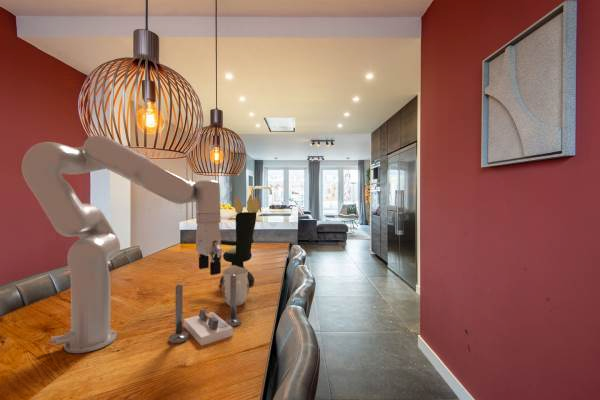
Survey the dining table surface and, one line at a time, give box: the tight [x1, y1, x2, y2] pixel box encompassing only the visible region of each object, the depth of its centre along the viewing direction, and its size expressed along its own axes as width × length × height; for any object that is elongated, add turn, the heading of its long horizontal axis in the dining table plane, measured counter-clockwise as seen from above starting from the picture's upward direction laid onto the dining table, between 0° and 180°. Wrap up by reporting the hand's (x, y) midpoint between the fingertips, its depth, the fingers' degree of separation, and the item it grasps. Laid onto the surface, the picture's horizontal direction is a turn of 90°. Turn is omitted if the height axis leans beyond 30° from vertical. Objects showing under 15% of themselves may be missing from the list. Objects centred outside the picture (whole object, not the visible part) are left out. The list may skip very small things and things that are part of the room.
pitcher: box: [221, 264, 250, 307], centre depth 118 cm, size 11×18×14 cm, turn 21°
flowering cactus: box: [219, 193, 260, 287], centre depth 143 cm, size 19×22×45 cm
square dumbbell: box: [198, 308, 218, 329], centre depth 95 cm, size 2×12×2 cm, turn 39°
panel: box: [183, 311, 234, 347], centre depth 95 cm, size 10×16×3 cm, turn 39°
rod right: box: [224, 274, 242, 328], centre depth 100 cm, size 6×6×17 cm
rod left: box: [168, 283, 190, 345], centre depth 89 cm, size 6×6×17 cm
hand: (209, 271), depth 94 cm, fingers open, 9 cm apart
